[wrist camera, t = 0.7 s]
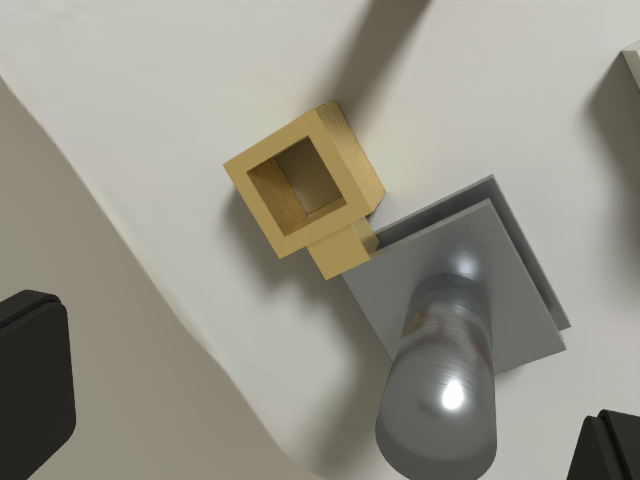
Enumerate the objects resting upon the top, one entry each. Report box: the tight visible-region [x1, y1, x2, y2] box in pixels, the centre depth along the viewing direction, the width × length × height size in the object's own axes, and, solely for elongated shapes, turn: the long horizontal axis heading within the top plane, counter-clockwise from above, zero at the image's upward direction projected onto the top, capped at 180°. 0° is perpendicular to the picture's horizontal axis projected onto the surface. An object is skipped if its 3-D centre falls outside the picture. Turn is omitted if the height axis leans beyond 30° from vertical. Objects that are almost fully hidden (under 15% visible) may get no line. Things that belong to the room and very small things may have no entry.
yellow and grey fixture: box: [223, 101, 571, 480], centre depth 27 cm, size 12×18×15 cm
